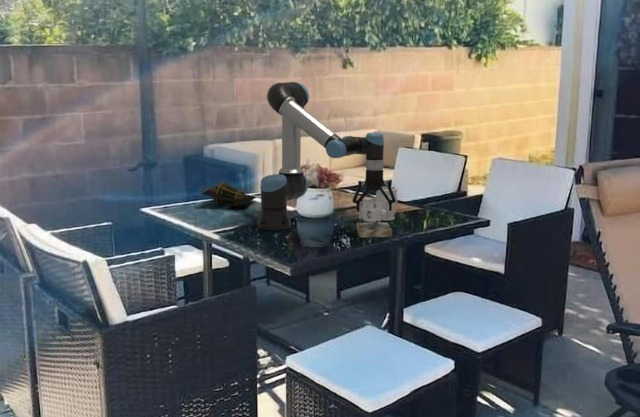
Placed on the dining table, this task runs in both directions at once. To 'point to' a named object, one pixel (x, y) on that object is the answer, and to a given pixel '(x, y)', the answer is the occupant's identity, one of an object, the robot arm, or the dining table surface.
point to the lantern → (227, 195)
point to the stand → (374, 230)
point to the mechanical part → (372, 210)
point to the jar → (384, 202)
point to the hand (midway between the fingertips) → (373, 218)
